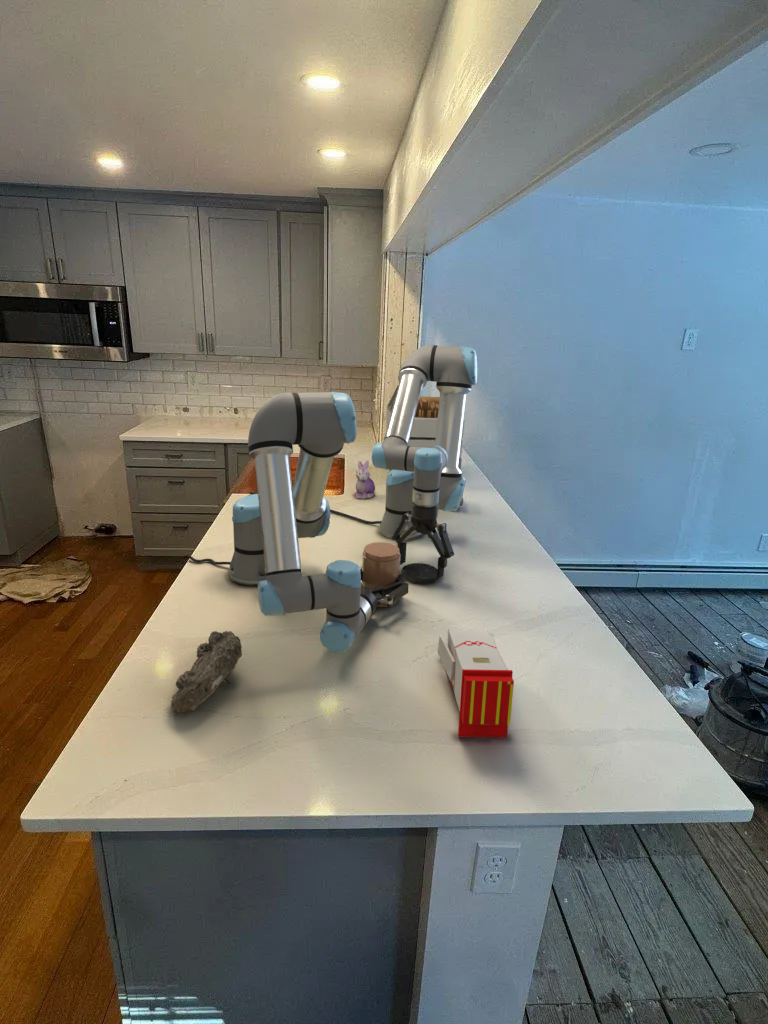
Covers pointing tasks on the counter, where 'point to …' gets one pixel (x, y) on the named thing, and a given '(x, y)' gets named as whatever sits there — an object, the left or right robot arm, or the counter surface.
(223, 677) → the fossil
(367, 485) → the figurine
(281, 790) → the counter surface
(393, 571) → the jar
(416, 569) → the lid
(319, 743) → the counter surface
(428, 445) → the white crate
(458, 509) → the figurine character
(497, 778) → the counter surface
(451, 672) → the toy
